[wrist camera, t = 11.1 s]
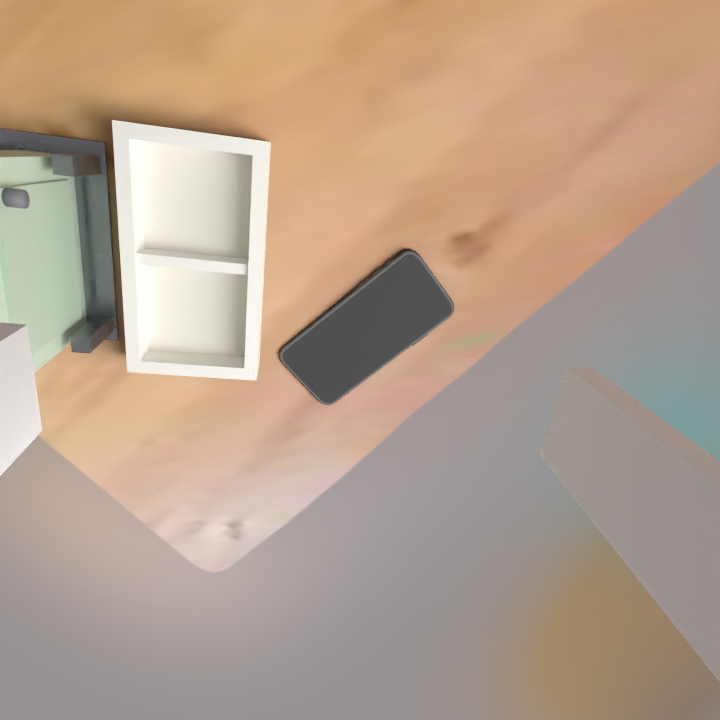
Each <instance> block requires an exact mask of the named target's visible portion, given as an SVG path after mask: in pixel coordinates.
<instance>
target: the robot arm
mask: <svg viewBox="0 0 720 720" xmlns="http://www.w3.org/2000/svg"><path fill="white" fill-rule="evenodd" d="M41 431H42V426H41V419H40V412H39V405H38V398H37V391H36V383H35V376H34V369H33V362H32V355H31V348H30V341H29V334H28V326H27V325H26V324H13V323H0V475H1V474H2V473H3V472H4V471H5V470H6V469H7V468H8V467H9V466H10V464H12V463H13V461H14V460H15V459H16V458H17V457H18V456H19V455H20V454H21V453H22V452H23V451H24V450H25V449H26V448H27V446H28V445H29V444H30V443H31V442H32V441H33V440H34V439H35V438H36V437H37V436H38V435H39V434H40V432H41ZM539 455H540V456H541V457H542V458H543V460H544V461H545V462H546V463H547V465H548V466H549V467H550V468H551V470H552V471H553V472H554V474H555V475H556V476H557V477H558V479H559V480H560V481H561V482H562V484H563V485H564V486H565V487H566V489H567V490H568V491H569V492H570V494H571V495H572V496H573V498H574V499H575V500H576V501H577V502H578V504H579V505H580V506H581V508H582V509H583V510H584V511H585V513H586V514H587V515H588V516H589V518H590V519H591V520H592V521H593V523H594V524H595V525H596V527H597V528H598V529H599V530H600V532H601V533H602V534H603V535H604V537H605V538H606V539H607V540H608V542H609V543H610V544H611V545H612V547H613V548H614V549H615V550H616V552H617V553H618V554H619V556H621V558H622V559H623V561H624V562H625V563H626V564H627V566H628V567H629V568H630V569H631V571H632V572H633V573H634V574H635V576H636V577H637V578H638V579H639V581H640V582H641V583H642V584H643V586H644V587H645V588H646V590H647V591H648V592H649V593H650V595H651V596H652V597H653V598H654V600H655V601H656V602H657V603H658V605H659V606H660V607H661V608H662V610H663V611H664V612H665V614H666V615H667V616H668V617H669V619H670V620H671V621H672V622H673V624H674V625H675V626H676V627H677V629H678V630H679V631H680V632H681V634H682V635H683V636H684V637H685V639H686V640H687V641H688V643H690V645H691V646H692V648H693V649H694V650H695V651H696V653H697V654H698V655H699V656H700V658H701V659H702V660H703V661H704V663H705V664H706V665H707V666H708V668H709V669H710V670H711V672H712V673H713V674H714V675H715V677H716V678H717V679H718V680H719V682H720V461H718V460H717V459H716V458H714V457H713V456H712V455H710V454H709V453H707V452H706V451H704V450H703V449H702V448H700V447H699V446H698V445H697V444H695V443H694V442H692V441H691V440H690V439H688V438H687V437H685V436H684V435H683V434H682V433H680V432H679V431H678V430H676V429H675V428H673V427H672V426H671V425H669V424H668V423H667V422H665V421H664V420H663V419H661V418H660V417H658V416H657V415H656V414H654V413H653V412H652V411H650V410H649V409H648V408H646V407H645V406H643V405H642V404H641V403H639V402H638V401H637V400H635V399H634V398H633V397H631V396H630V395H629V394H627V393H626V392H624V391H623V390H622V389H620V388H619V387H618V386H616V385H615V384H613V383H612V382H611V381H609V380H608V379H607V378H605V377H604V376H603V375H601V374H600V373H599V372H597V371H596V370H595V369H593V368H585V367H572V366H571V367H570V366H566V369H565V372H564V375H563V378H562V382H561V385H560V388H559V391H558V394H557V398H556V401H555V404H554V407H553V410H552V413H551V417H550V420H549V423H548V427H547V430H546V433H545V436H544V439H543V442H542V445H541V449H540V452H539Z"/></svg>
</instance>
